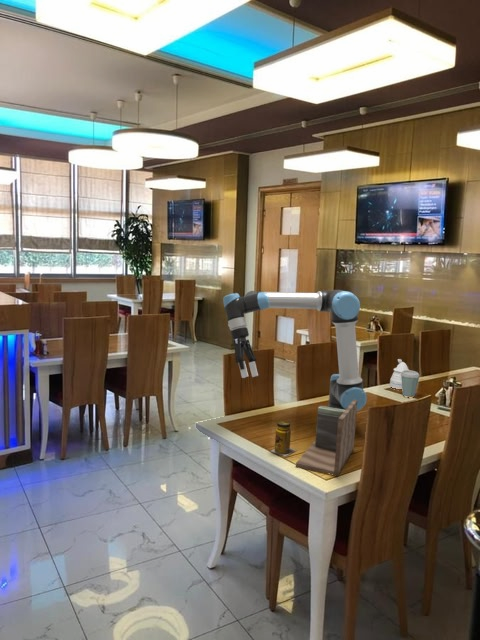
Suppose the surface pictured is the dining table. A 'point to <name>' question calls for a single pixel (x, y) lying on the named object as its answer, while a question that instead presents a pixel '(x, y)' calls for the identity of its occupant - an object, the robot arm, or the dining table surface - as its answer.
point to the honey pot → (398, 375)
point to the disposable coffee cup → (409, 382)
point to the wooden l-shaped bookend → (331, 440)
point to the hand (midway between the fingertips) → (250, 376)
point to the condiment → (283, 439)
